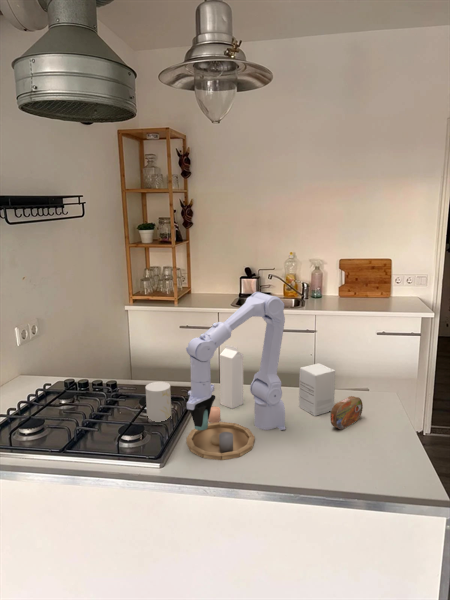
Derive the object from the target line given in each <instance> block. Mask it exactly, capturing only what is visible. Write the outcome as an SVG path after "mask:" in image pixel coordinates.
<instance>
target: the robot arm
mask: <svg viewBox="0 0 450 600" xmlns="http://www.w3.org/2000/svg"><path fill="white" fill-rule="evenodd" d="M284 309H285V302H283V300H282V299H281V298H280V297H279V296H276V295H271V294H267V293H263V292H261V291H255V292H253V293H252V294H251V295H250V296H247V298H246V300H245V302H244V303H243V304H242V305H241V306H240V307H239V308H238V309H237V310H235V312H233V313H232V314H231V315H230V316H229V317H228V318H227V319H226V320H225V321H217V322H214V323H213V324H212V325H211V327H210V328H209V329H207V330H206V331H205V332H203V333H201V334H200V335H199V336H198V337H194V338H192V339H191V340H190V341H189V342H188V345H187V347H186V348H185V351H186V353H187V355H188V356H189V357H190V358H189V360H190V363H189V364H190V390H188V392H187V395H188V396H189V398H188V401H187V402H186V410H188V411H189V413H190V415H191V417H192V421H193V425H195V426H198V427H201V426H202V424H203V415H204V411H205V409H206V410H207V411H208V419H209V415H210V411H211V407H212V406H213V405H214V401H215V400H216V395H215V394H213V393H214V391H215V384H211V380H212V379H211V374H212V373H211V360H212V358H213V357H214V355H215V352H216V350H217V349H218V348H219V347H220V346H222V345H223V344H224V343H225V342H227V341H228V340H229V339H230V338H231V337H232V332H233V330H235V329H237V328H238V327H239V326H241V325H242V324H243V323H245V322H246V321H248V320H249V319H250V318H252V317H255V318H256V317H261V318H262V319H263V321H264V322H265V323H266V324H265V325H266V326H265V333H264V340H263V344H262V345H263V346H262V353H261V359H260V366H259V370H258V371H257V372H255V373H254V375H253V380H251V381H252V382H251V383H250V386H249V391H250V394H251V395H253V400H254V404H253V405H254V407H253V408H254V411H253V412H254V414H253V415H254V418H253V420H254V423H253V424H254V426H255V428H257V429H259V430H264V431H265V430H266V431H267V430H273V429H275V428H278V429H279V430H280V431H285V430H286V429H287V428H286V407H285V403H284V401H283V399H282V397H283V390H282V381H281V378H280V377H279V375H278V368H279V360H280V355H281V348H282V342H283V336H284V335H283V334H284V329H285V322H286V317H285V313H284V311H285V310H284Z"/></svg>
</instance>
